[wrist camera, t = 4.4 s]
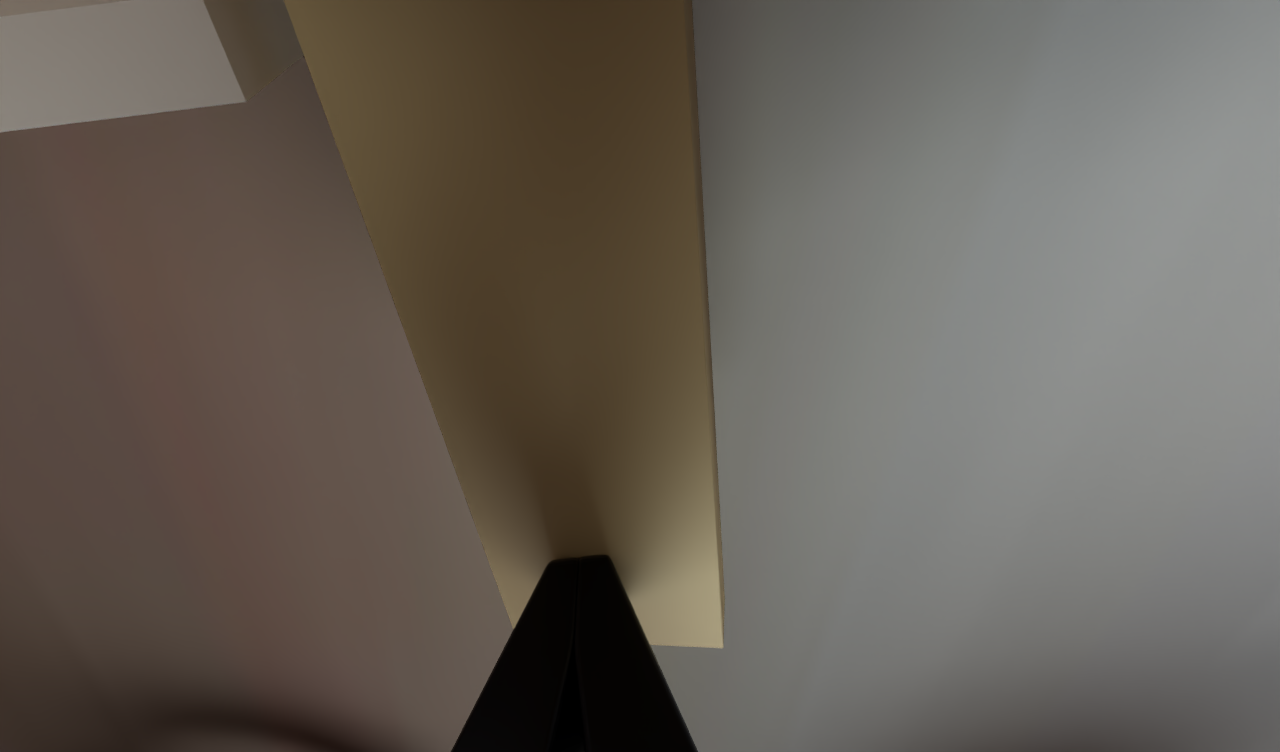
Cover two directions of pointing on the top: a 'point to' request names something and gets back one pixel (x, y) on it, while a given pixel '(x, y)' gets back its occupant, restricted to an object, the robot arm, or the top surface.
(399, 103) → the tan flat board
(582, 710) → the robot arm
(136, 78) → the dish
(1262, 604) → the top surface
